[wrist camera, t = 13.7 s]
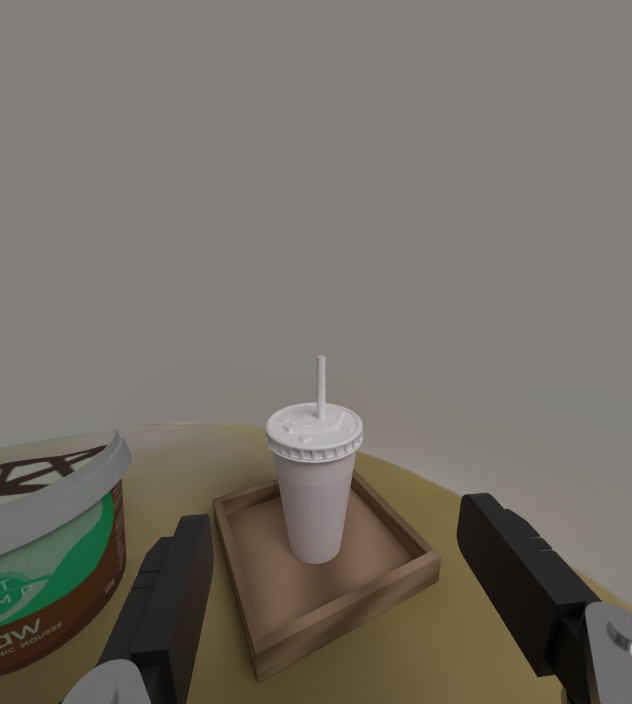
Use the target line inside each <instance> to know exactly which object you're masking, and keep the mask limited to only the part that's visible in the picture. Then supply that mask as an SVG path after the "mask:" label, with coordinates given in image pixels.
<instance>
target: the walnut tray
mask: <svg viewBox="0 0 632 704" xmlns="http://www.w3.org/2000/svg"><path fill="white" fill-rule="evenodd" d="M213 506H214V514H215V521H216V525H217V529H218V533H219V536H220V540H221V544H222V548H223V551H224V555H225V559H226V563H227V567H228V570H229V574H230V578H231V582H232V586H233V589H234V593H235V597H236V601H237V604H238V608H239V612H240V616H241V620H242V623H243V627H244V631H245V635H246V638H247V642H248V646H249V650H250V654H251V657H252V661H253V665H254V669H255V673H256V676H257V680H258V683H259V682H261V681H263V680H264V679H266V678H268V677H270V676H271V675H273V674H275V673H277V672H278V671H280V670H282V669H284V668H286V667H287V666H289V665H291V664H293V663H294V662H296V661H298V660H300V659H301V658H303V657H305V656H307V655H309V654H310V653H312V652H314V651H316V650H317V649H319V648H321V647H323V646H324V645H326V644H328V643H330V642H331V641H333V640H335V639H337V638H339V637H340V636H342V635H344V634H346V633H347V632H349V631H351V630H353V629H354V628H356V627H358V626H360V625H361V624H363V623H365V622H367V621H369V620H370V619H372V618H374V617H376V616H377V615H379V614H381V613H383V612H384V611H386V610H388V609H390V608H391V607H393V606H395V605H397V604H399V603H400V602H402V601H404V600H406V599H407V598H409V597H411V596H413V595H414V594H416V593H418V592H420V591H422V590H423V589H425V588H427V587H429V586H430V585H432V584H434V583H436V582H437V581H438V580H439V571H440V562H441V556H440V555H439V554H438V553H437V552H436V551H435V550H434V549H433V548H432V547H431V546H430V545H429V544H428V543H427V542H426V541H425V540H424V539H423V538H422V537H421V536H420V535H419V534H418V533H417V532H416V531H415V530H414V529H413V528H412V527H411V526H410V525H409V524H408V523H407V522H406V521H405V520H404V519H403V518H402V517H401V516H400V515H399V514H398V513H397V512H396V511H395V510H394V509H393V508H392V507H391V506H390V505H389V504H388V503H387V502H386V501H385V500H384V499H383V498H382V497H381V496H380V495H379V494H378V493H377V492H376V491H375V490H374V489H373V488H372V487H371V486H370V485H369V484H368V483H367V482H366V481H365V480H364V479H363V478H362V477H361V476H360V475H359V474H358V473H357V472H356V471H355V470H354V469H353V473H352V480H351V486H350V492H349V498H348V504H347V510H346V516H345V522H344V528H343V534H342V540H341V546H340V550H339V552H338V553H337V555H336V556H335V557H334V558H332V559H331V560H329V561H327V562H325V563H321V564H310V563H306V562H303V561H301V560H300V559H298V558H297V557H296V556H295V555H294V554H293V552H292V550H291V547H290V541H289V536H288V531H287V525H286V520H285V515H284V510H283V504H282V499H281V494H280V489H279V483H278V479H277V480H273V481H270V482H267V483H264V484H260V485H257V486H254V487H251V488H248V489H244V490H241V491H238V492H235V493H231V494H228V495H225V496H222V497H218V498H215V499H213Z"/></svg>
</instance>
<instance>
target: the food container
mask: <svg viewBox="0 0 632 704" xmlns="http://www.w3.org/2000/svg"><path fill="white" fill-rule="evenodd" d="M130 462H131V453H130V450H129V448H128V446H127V444H126V442H125V440H124V437H123V438H119V434H118V431H117V430H116V431H115V435H114V437H113V439H112V440H111V442H110V443H109V444H108V445H105V446H100V447H97V448H93V449H90V450H86V451H82V452H77V453H73V454H68V455H63V456H56V457H47V458H39V459H30V460H23V461H16V462H10V463H5V464H1V465H0V676H1V675H5V674H9V673H11V672H14V671H16V670H19V669H21V668H24V667H26V666H28V665H30V664H32V663H34V662H36V661H38V660H40V659H42V658H44V657H45V656H47V655H48V654H50V653H52V652H53V651H55V650H56V649H58V648H59V647H61V646H62V645H64V644H65V643H66V642H68V641H69V640H70V639H72V638H73V637H74V636H76V635H77V634H78V633H79V632H80V631H81V630H82V629H83V628H85V627H86V626H87V625H88V624H89V623H90V622H91V621H92V620H93V619H94V618H95V617H96V616H97V615H98V613H99V612H100V611H101V610H102V609H103V608H104V606H105V605H106V604H107V603H108V601H109V600H110V599H111V597H112V595H113V594H114V592H115V591H116V589H117V587H118V585H119V583H120V581H121V579H122V576H123V573H124V570H125V563H126V549H125V531H124V514H123V496H122V476H123V475H124V474H125V472H126V471H127V469H128V466H129V464H130Z"/></svg>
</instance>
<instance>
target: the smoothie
mask: <svg viewBox="0 0 632 704" xmlns="http://www.w3.org/2000/svg"><path fill="white" fill-rule="evenodd" d="M362 441H363V433H362V421H361V419H360V418H359V416H358V415H356V414H355V413H354V412H353V411H351V410H349V409H347V408H344V407H342V406H338V405H334V404H329V403H325V356H322V355H321V356H317V402H314V403H302V404H296V405H291V406H288V407H285V408H283V409H281V410H279V411H277V412H276V413H274V414H273V415H272V416H271V417H270V418H269V419H268V420H267V423H266V434H265V442H266V444H267V446H268V447H269V449H270V450H271V451H273V457H274V463H275V468H276V473H277V478H278V483H279V489H280V494H281V499H282V504H283V510H284V515H285V520H286V525H287V531H288V536H289V541H290V547H291V550H292V552H293V554H294V555H295V556H296V557H297V558H298V559H300V560H301V561H303V562H306V563H310V564H321V563H325V562H327V561H329V560H331V559H332V558H334V557H335V556H336V555H337V553H338V552H339V550H340V546H341V540H342V534H343V528H344V522H345V516H346V510H347V504H348V498H349V492H350V486H351V480H352V473H353V467H354V462H355V455H356V450H357V449H358V448H359V447H360V445H361V443H362Z"/></svg>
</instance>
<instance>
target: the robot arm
mask: <svg viewBox="0 0 632 704" xmlns="http://www.w3.org/2000/svg"><path fill="white" fill-rule="evenodd" d="M457 541H458V545H459V549H460V551H461V553H462V555H463V557H464V558H465V560H466V562H467V563H468V565H469V567H470V568H471V570H472V571H473V573H474V575H475V576H476V578H477V580H478V581H479V583H480V584H481V586H482V588H483V589H484V591H485V592H486V594H487V596H488V597H489V599H490V601H491V602H492V604H493V605H494V607H495V609H496V610H497V612H498V614H499V615H500V617H501V618H502V620H503V622H504V623H505V625H506V627H507V628H508V630H509V631H510V633H511V635H512V636H513V638H514V639H515V641H516V643H517V644H518V646H519V648H520V649H521V651H522V652H523V654H524V656H525V657H526V659H527V661H528V662H529V664H530V665H531V667H532V669H533V670H534V672H535V674H536V675H537V677H542V676H549V675H556V676H557V678H558V679H559V681H560V682H561V684H562V685H563V687H562V691H561V703H562V704H632V613H631V612H629V611H627V610H626V609H624V608H621V607H619V606H617V605H614V604H611V603H607V602H602V601H601V600H600V599H599V598H598V596H597V595H596V594H595V593H594V592H593V591H592V590H591V589H590V588H589V587H588V586H587V585H586V584H585V583H584V582H583V581H582V579H581V578H580V577H579V576H578V575H577V574H576V573H575V572H574V571H573V570H572V569H571V568H570V567H569V566H568V565H567V563H566V562H565V561H564V560H563V559H562V558H561V557H560V556H559V555H558V554H557V553H556V552H555V551H552V548H551V546H550V545H549V544H548V543H547V542H546V541H545V540H544V539H543V538H541V537H540V535H539V534H538V533H537V532H536V531H535V529H534V528H533V527H532V526H531V525H530V524H529V523H528V522H527V521H526V520H525V519H523V518H522V517H520V516H519V515H517V514H516V513H514V512H513V511H511V510H509V509H504V508H503V507H502V506H501V505H500V504H499V503H498V502H497V501H496V499H495V498H494V497H493V496H492V495H491V494H489V493H478V494H467V495H464V496H463V497H462V500H461V506H460V513H459V520H458V527H457ZM213 561H214V557H213V546H212V537H211V527H210V519H209V515H208V514H202V515H189V516H182V517H181V518H180V521H179V523H178V526H177V529H176V531H175V534H174V536H172V537H161V538H160V539H159V540H158V541H157V542H156V544H155V545H154V546H153V547H152V548H151V549H150V550H149V551H148V553H147V554H146V556H145V558H144V560H143V563H142V565H141V567H140V569H139V572H138V576H136V578H135V581H134V583H133V585H132V587H131V592H129V594H128V596H127V599H126V601H125V603H124V605H123V608H122V610H121V612H120V615H119V617H118V619H117V621H116V624H115V626H114V628H113V630H112V633H111V635H110V637H109V639H108V642H107V644H106V646H105V648H104V651H103V653H102V655H101V657H100V659H99V661H98V663H97V665H96V666H95V668H94V669H93V670H91V671H90V672H89V673H87V674H86V675H85V676H84V677H83V678H81V679H80V680H79V681H78V682H77V683H76V685H75V686H74V687H73V688H72V689H71V691H70V692H69V693H68V695H67V696H66V697H65V699H64V700H63V701H62V702H60V703H59V704H186V701H187V696H188V692H189V687H190V682H191V677H192V672H193V667H194V663H195V658H196V653H197V648H198V643H199V638H200V633H201V629H202V624H203V619H204V614H205V609H206V604H207V600H208V595H209V590H210V585H211V580H212V574H213Z"/></svg>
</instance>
